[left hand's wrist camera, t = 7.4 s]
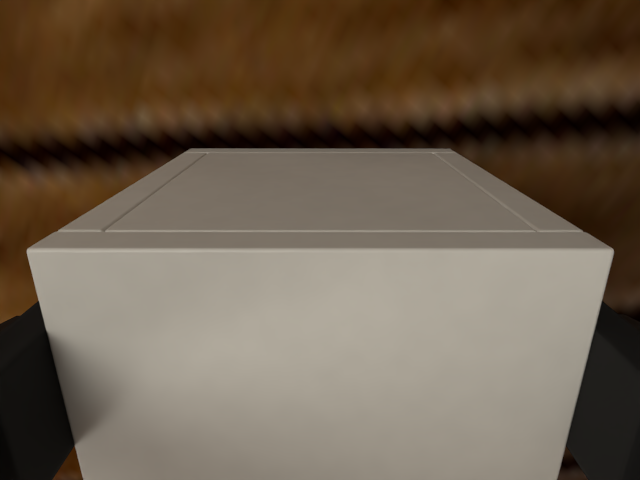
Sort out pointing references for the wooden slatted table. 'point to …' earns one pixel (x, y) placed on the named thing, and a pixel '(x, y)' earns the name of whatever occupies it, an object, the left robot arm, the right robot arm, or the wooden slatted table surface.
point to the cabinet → (320, 320)
